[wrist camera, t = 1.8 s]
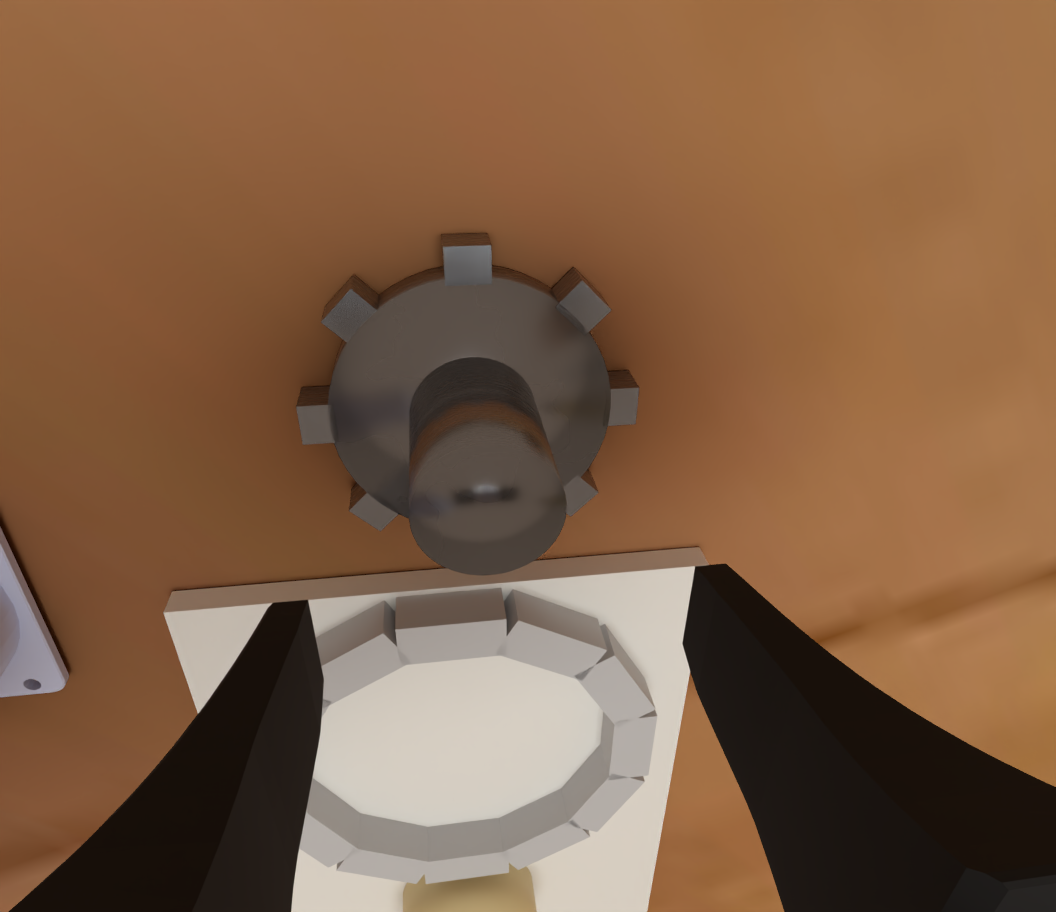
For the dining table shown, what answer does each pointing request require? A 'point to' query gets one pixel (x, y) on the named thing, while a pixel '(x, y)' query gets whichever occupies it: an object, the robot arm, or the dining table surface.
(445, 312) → the gear
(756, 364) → the dining table surface
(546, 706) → the carrier plate
